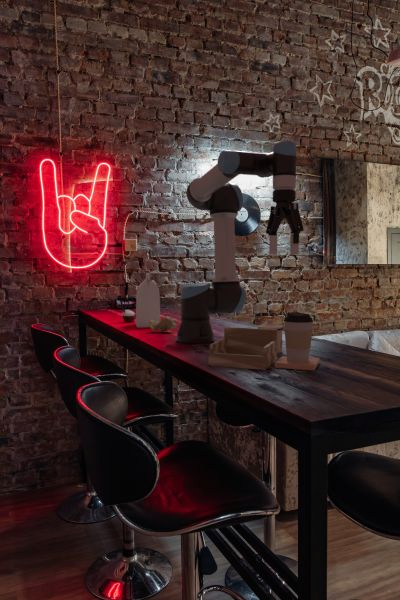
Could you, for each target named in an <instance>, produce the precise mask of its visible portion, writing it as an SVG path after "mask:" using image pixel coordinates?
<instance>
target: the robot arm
mask: <svg viewBox="0 0 400 600" xmlns="http://www.w3.org/2000/svg"><path fill="white" fill-rule="evenodd" d="M297 156H298V155H297V146H296V143H295V142H294V141H291V140H282V141H280V140H279V141H275V143H274V144H273V148H272V152H269V153H264V152H254V151H253V152H251V151H241V150H233V149H229V150H228V149H227V150H225V149H224V150H222V151H221V152H220V153H219V155H218V158H217V163H216V164H215V165H214V166H213V167H212V168H210V169H209V170H208V171H207V172H205V173H204V174H203V175H201V176H200V177H197V178H194V179H193V180H192V181H190V183H189V184H188V185H187V188H186V191H185V195H186V199H187V202H188V203H189V204H190V205H191V206H192V207H193V208H195V209H197V210H199V211H207V212H208V211H209V217H210V218H211V219H212V220H213V239H214V240H213V243H214V246H213V247H214V273H215V275H214V278H213V280H212V281H211V284H210V283H209V282H208V281H207V282H195V283H190V284H189V283H188V284H186V285H183V286H182V287H181V291H180V292H181V293H180V316H181V317H180V320H181V321H180V325H179V328H178V331H177V333H176V342H179V343H185V344H205V343H206V344H207V343H211V342H214V341H215V334H214V330H213V328H212V324H211V315H223V314H226V315H227V314H228V315H231V314H238V313H239V312H241V311H242V309H244V307H245V304H246V300H247V299H246V298H247V293H246V290H245V289H246V288H245V287H244V286H243V285H242V284H241V282H240V281H241V280H239V278H238V277H237V272H236V270H237V269H236V268H237V265H236V263H237V262H236V241H235V240H236V234H235V233H236V232H235V228H236V227H235V219H236V218H237V217H238V216H239V212H240V211H241V210H242V209H243V204H244V197H243V191H242V190H241V188H240V187H239V185H238V184H236V183H233V182H232V183H231V182H230V181H232V180H233V179H235V178H236V177H238V176H239V175H246V176H257V177H259V178H271V177H272V190H273V191H272V202H274V203H275V206H273V205H272V206H270V210H269V211H270V213H269V217H268V221H267V225H266V229H265V234H266V235H268V237H269V238H268V240H269V241H268V249H269V253H268V255H278V230H279V228H280V225H281V223H282V221H283V220H286V222H287V224H288V227H289V230H290V235H289V236H290V240H289V241H290V242H289V254H290V255H299V253H300V252H299V250H300V248H299V246H300V234H301V232H304V230H305V229H304V225H303V221H302V217H301V213H300V210H299V202H296V197H297V194H296V193H297V192H296V190H295V189H296V187H297V186H296V183H297V181H296V177H297V176H296V175H297Z"/></svg>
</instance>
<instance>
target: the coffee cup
mask: <svg viewBox="0 0 400 600" xmlns="http://www.w3.org/2000/svg"><path fill="white" fill-rule="evenodd" d="M283 321H284V322H283V323H284V328H283V330H284V340H285V341H284V342H285V343H284V344H285V351H286V353H285V354H286V356H287V361H289V362H295V363H304V362H308V361H309V358H310V352H311V351H310V349H311V345H312V335H313V322H314V320H313V317H311V315H310V313H306V312H305V313H304V312H293V313H292V312H287V313H286V316H285V317H284V319H283Z"/></svg>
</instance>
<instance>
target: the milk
mask: <svg viewBox="0 0 400 600" xmlns="http://www.w3.org/2000/svg"><path fill="white" fill-rule="evenodd" d="M150 275H151V274H150V273H149V272H146V273H145V279H144V280H143V281H142V282H141V283H140V284H138V286H137V287H136V299H135V301H136V303H135V306H136V307H135V315H136V316H135V317H136V319H135V326H136V327H137V328H151V327H150V323H149V322H150V319H152V320H154V321H156V322H158V323H159V322H161V320H162V319H161V297H160V296H161V295H160V288H159V286H158V284H157V282H156V281H155V280H154V279H151V276H150Z"/></svg>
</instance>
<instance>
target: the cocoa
mask: <svg viewBox="0 0 400 600" xmlns="http://www.w3.org/2000/svg"><path fill="white" fill-rule="evenodd" d="M119 304H120V305H121V309H122V319H123V321H124V323H133V322H134V321H136V312H135V311H132V310H130V309H125V307H124V304H123V301H122V299H119Z"/></svg>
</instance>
